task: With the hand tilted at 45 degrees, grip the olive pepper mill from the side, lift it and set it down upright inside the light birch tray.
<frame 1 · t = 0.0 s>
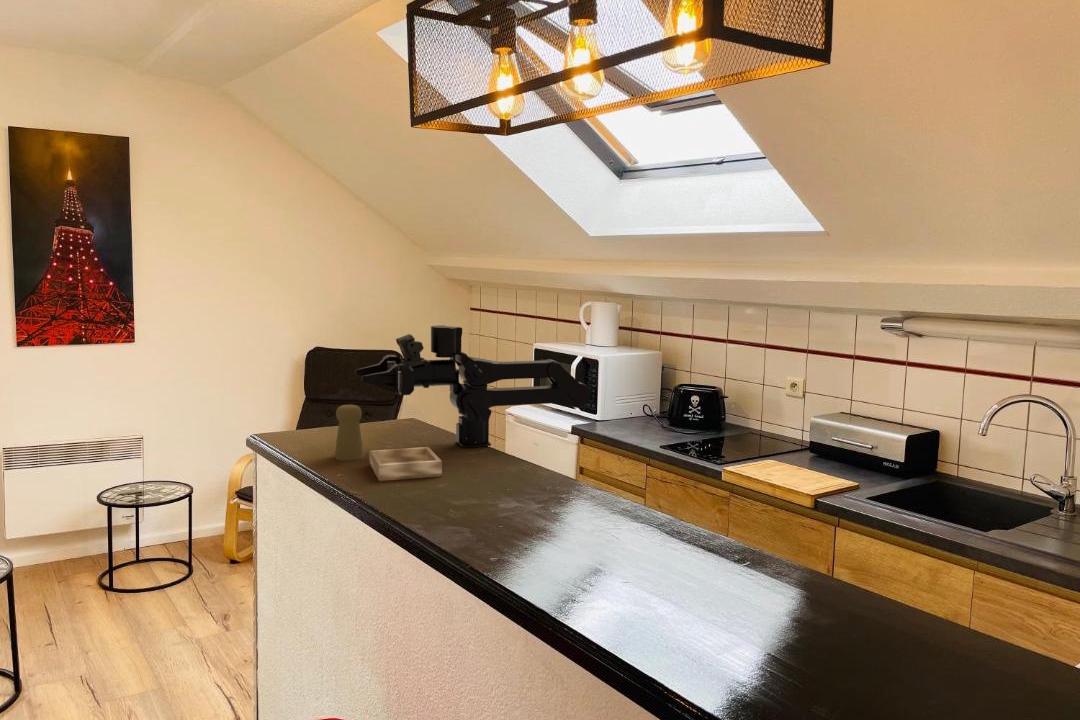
hand: (358, 375, 178), 17 cm above the counter, tool horizontal, fingers open, 9 cm apart
olive pepper mill: (349, 457, 176), on the counter
birch tray: (405, 470, 166), on the counter
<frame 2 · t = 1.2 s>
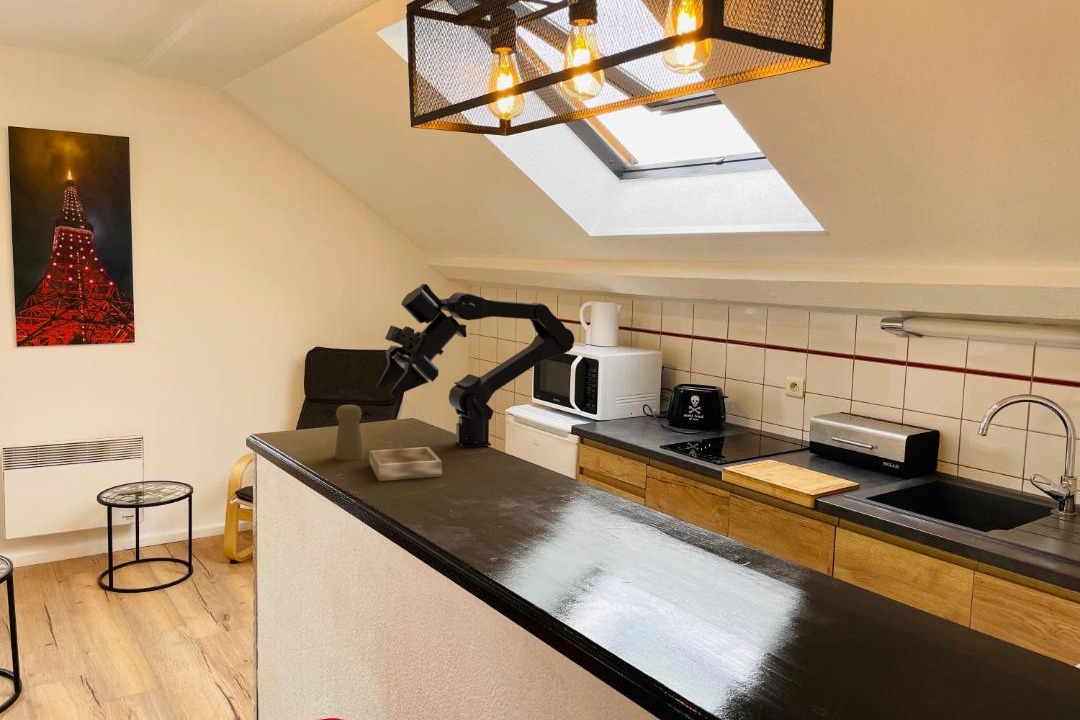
hand: (384, 391, 178), 13 cm above the counter, tool tilted 45°, fingers open, 9 cm apart
nothing on the counter moved.
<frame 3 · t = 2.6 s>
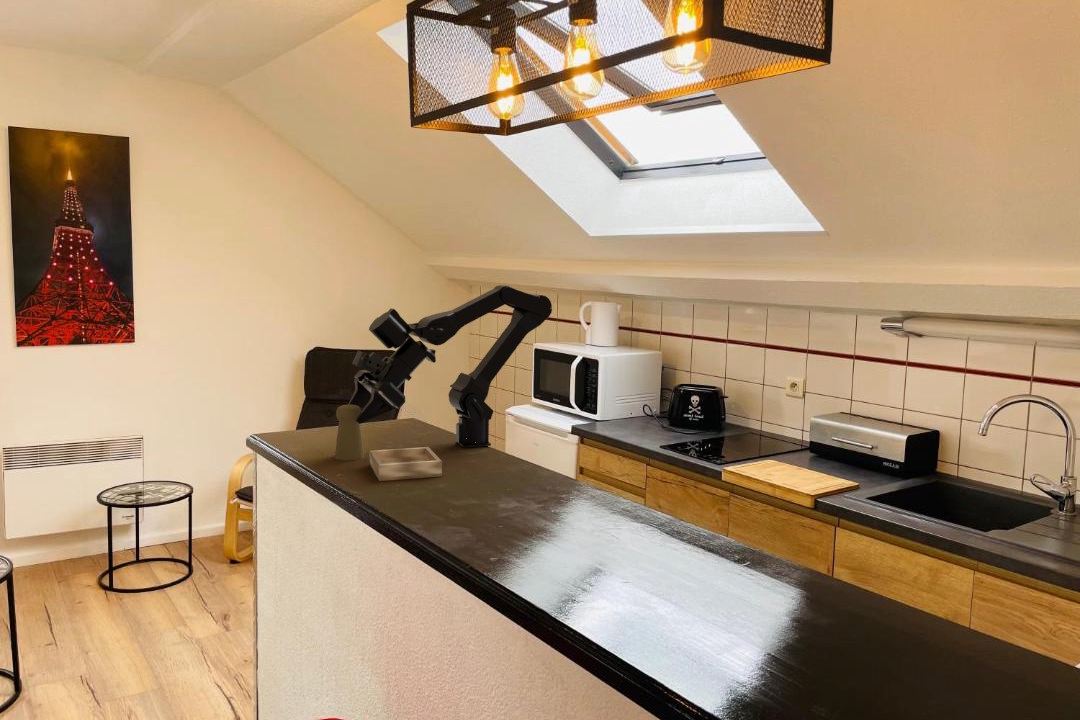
hand: (351, 418, 175), 8 cm above the counter, tool tilted 45°, fingers open, 9 cm apart
nothing on the counter moved.
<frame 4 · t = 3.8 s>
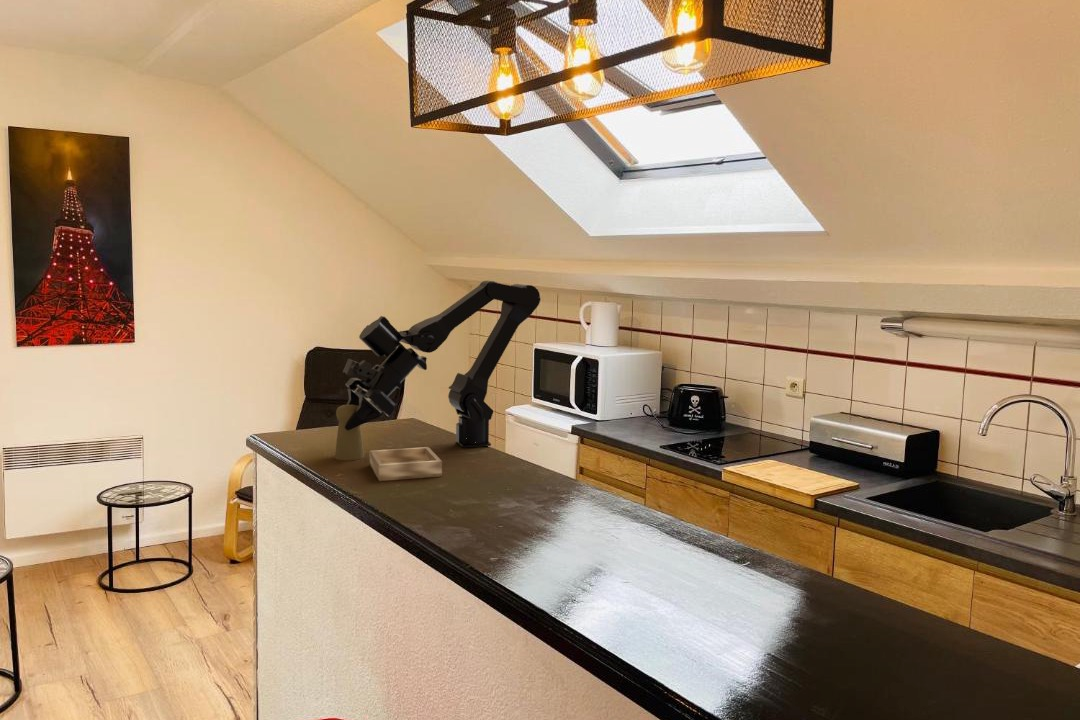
hand: (342, 426, 174), 7 cm above the counter, tool tilted 45°, fingers closed on olive pepper mill, 5 cm apart
olive pepper mill: (349, 457, 176), on the counter, touching gripper
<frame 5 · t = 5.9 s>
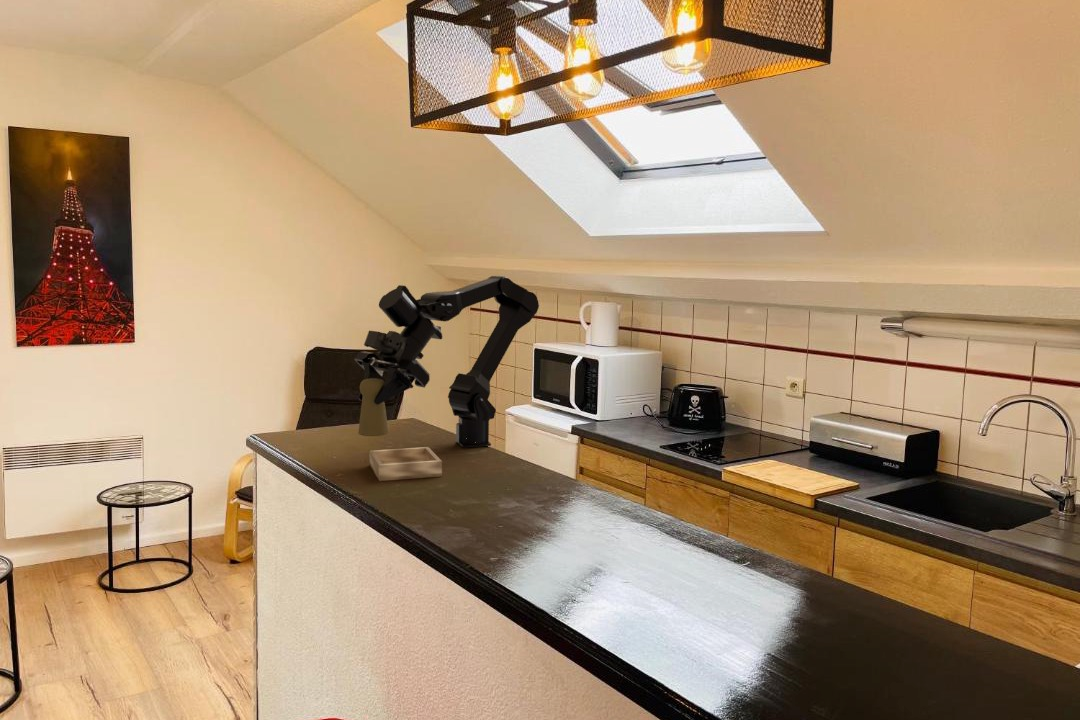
hand: (367, 401, 167), 13 cm above the counter, tool tilted 45°, fingers closed on olive pepper mill, 5 cm apart
olive pepper mill: (373, 433, 169), point 6 cm above the counter, touching gripper
when the fingers open (8 cm above the counter, at t = 8.0 s): olive pepper mill drops 1 cm, resting on birch tray.
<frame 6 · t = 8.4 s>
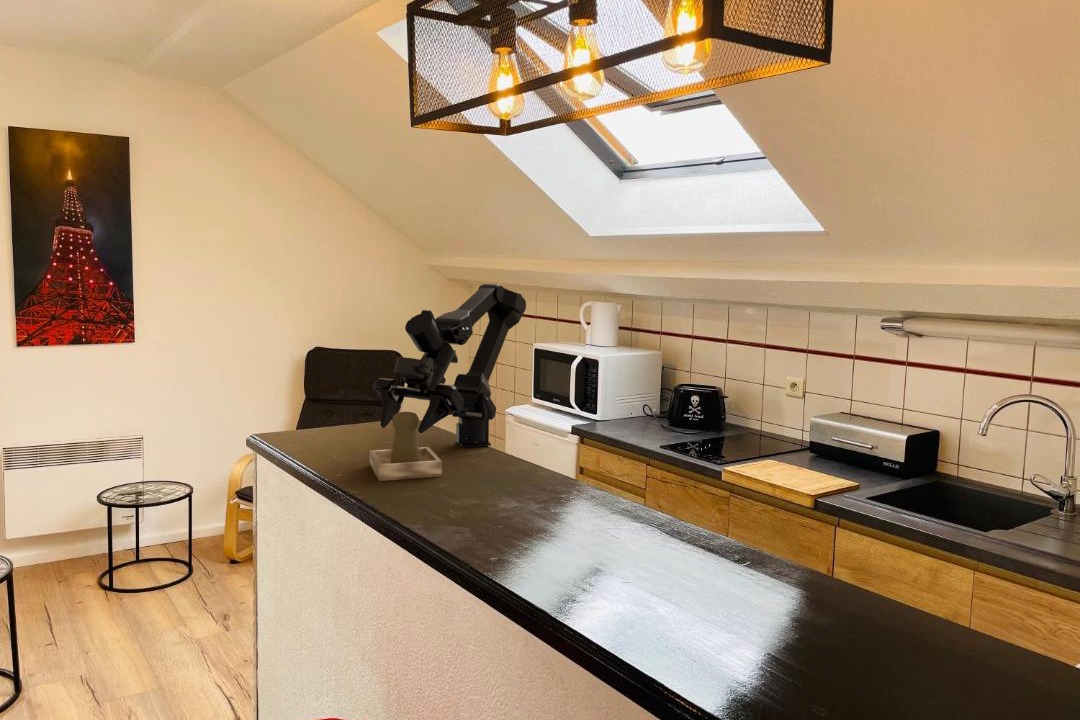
hand: (400, 429, 163), 9 cm above the counter, tool tilted 45°, fingers open, 9 cm apart
olive pepper mill: (405, 468, 166), resting on birch tray
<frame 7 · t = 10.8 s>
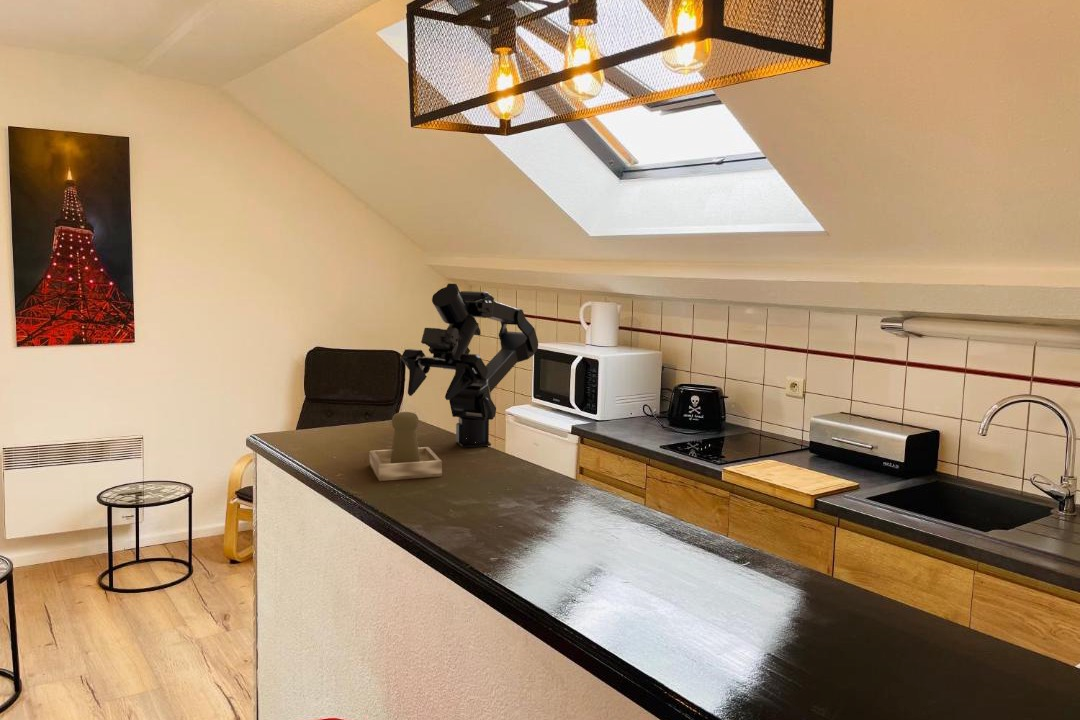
hand: (427, 396, 171), 14 cm above the counter, tool tilted 45°, fingers open, 9 cm apart
nothing on the counter moved.
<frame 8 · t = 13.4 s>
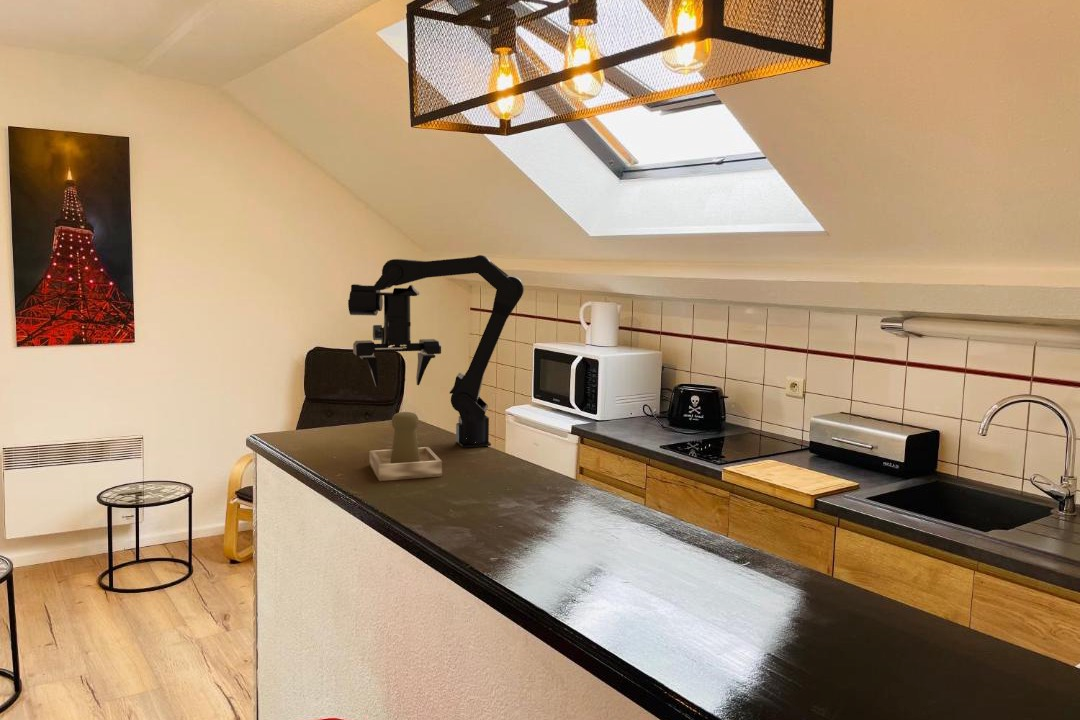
hand: (397, 385, 187), 13 cm above the counter, tool pointing down, fingers open, 9 cm apart
nothing on the counter moved.
at the end: olive pepper mill inside the target area on the birch tray (0.2 cm from its centre), point 0.4 cm above the birch tray's base; olive pepper mill tilted 0°; the gripper is holding nothing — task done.
